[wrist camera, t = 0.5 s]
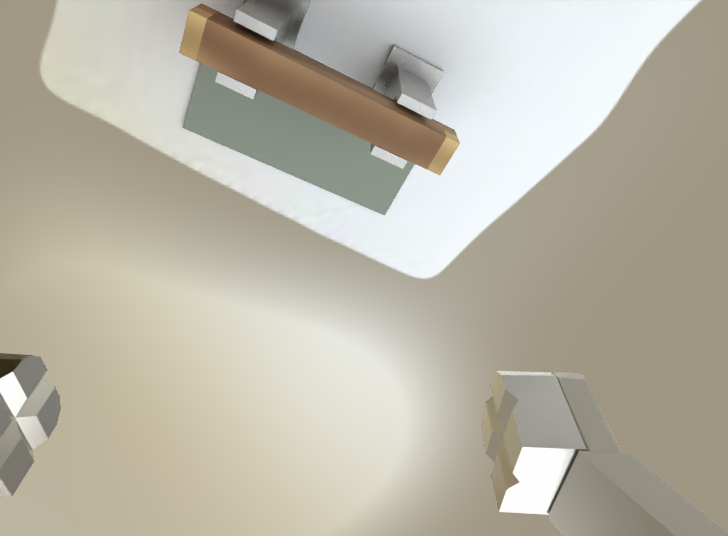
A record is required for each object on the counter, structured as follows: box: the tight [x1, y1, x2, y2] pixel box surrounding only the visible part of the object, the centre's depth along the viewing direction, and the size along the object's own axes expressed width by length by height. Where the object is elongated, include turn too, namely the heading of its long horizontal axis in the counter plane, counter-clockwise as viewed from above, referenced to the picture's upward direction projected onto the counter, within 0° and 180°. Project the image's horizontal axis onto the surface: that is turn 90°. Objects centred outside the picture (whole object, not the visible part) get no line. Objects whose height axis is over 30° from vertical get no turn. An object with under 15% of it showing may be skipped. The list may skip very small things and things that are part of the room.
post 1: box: [215, 0, 310, 99], centre depth 40 cm, size 8×5×9 cm, turn 154°
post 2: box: [371, 45, 443, 169], centre depth 43 cm, size 8×5×9 cm, turn 154°
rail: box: [179, 4, 460, 175], centre depth 38 cm, size 3×21×3 cm, turn 64°
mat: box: [183, 63, 415, 215], centre depth 49 cm, size 7×22×1 cm, turn 64°
